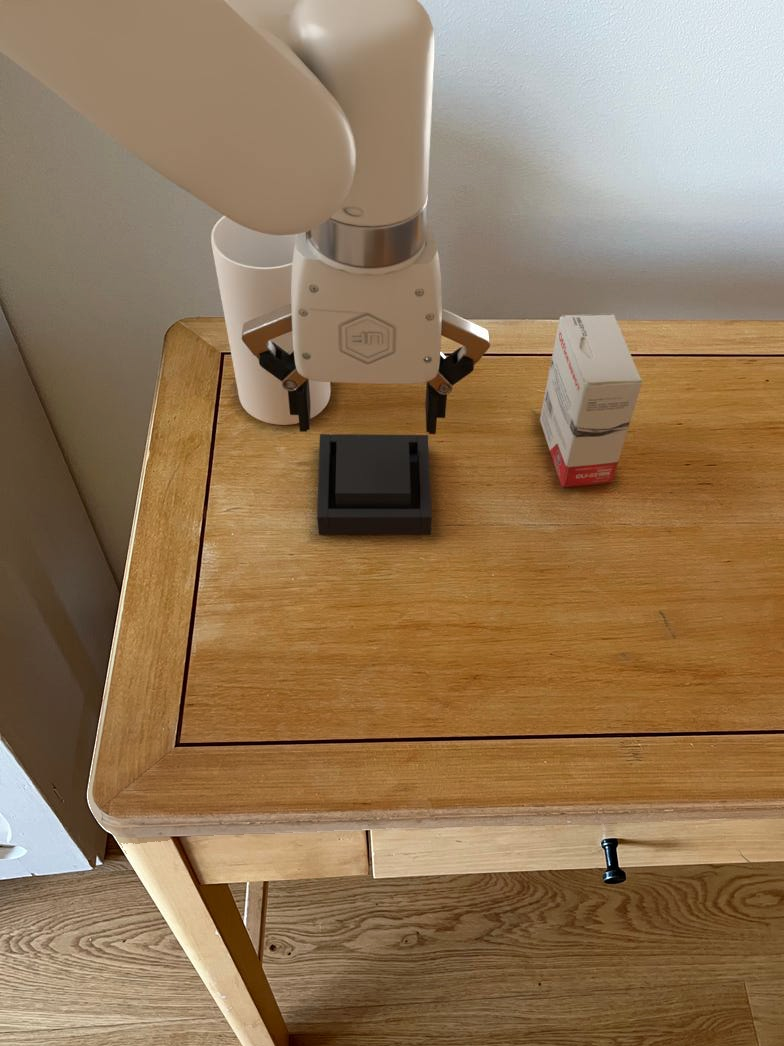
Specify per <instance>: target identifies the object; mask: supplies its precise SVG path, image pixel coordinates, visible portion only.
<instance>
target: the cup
mask: <svg viewBox="0 0 784 1046" xmlns="http://www.w3.org/2000/svg"><path fill="white" fill-rule="evenodd" d="M210 235H211V236H210V241H211V242H210V243H211V248H212V254H213V260H214V266H215V271H216V276H217V282H218V289H219V293H220V294H219V295H220V300H221V305H222V309H223V310H222V311H223V316H224V321H225V327H226V333H227V338H228V344H229V350H230V355H231V360H232V366H233V371H234V377H235V382H236V383H235V384H236V389H237V394H238V399H239V402H240V404H241V406H242V408H243V409H244V411H246V412H247V414H248V415H250V416H251V417H252V418H254V419H256V420H258V421H261V422H263V423H266V424H271V425H276V426H277V425H278V426H279V425H280V426H289V425H297V424H299V416H298V415H290V409H289V399H288V391H287V390H285V389H284V388H283V387H282V381H280V380H279V379H278V378H276V377H275V376H273V375H272V374H271V373H269V372H268V371H266V370H265V369H264V368H262V367H261V366H260V364H259V360H258V358H257V357H256V356H254V355H253V353H252V352H251V351H250V350H249V348H248V347H247V346H246V344H245V343H244V342H243V340H242V329H243V324H244V323H245V322H247V321H250V320H252V319H254V318H257V317H259V316H262V315H264V314H267V313H269V312H272V311H274V310H276V309H279V308H281V307H284V306H286V305H289V304H291V279H292V262H293V253H294V247H295V242H296V238H297V234H296V235H285V236H277V235H269V234H264V233H260V232H257V231H253V230H250V229H248V228H246V227H243V226H241V225H239V224H237V223H235V222H234V221H232V220H231V219H229V218H227V217H226V216H224V215H223V216H222V217H220V218H219V219H218V220H217V221H216V223H215V224H214V225H213V227H212V230H211V233H210ZM270 341H271V342H273V343H275V344H276V345H278V346H279V347H280V348H282V349H283V350H284V351H286V352H287V353H288V352H289V351H290V350H291V349H292V348H293V334H292V331H291V332H288V333H286V334H283V335H281V336H278V337H276V338H273V339H271V340H270ZM309 390H310V404H311V407H310V420H311V419H313V418H315V417H316V416H318V415H320V413H322V412H323V410H324V409H325V408H326V407H327V405H328V403H329V401H330V398H331V382H319V381H314V380H310V379H309Z"/></svg>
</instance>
